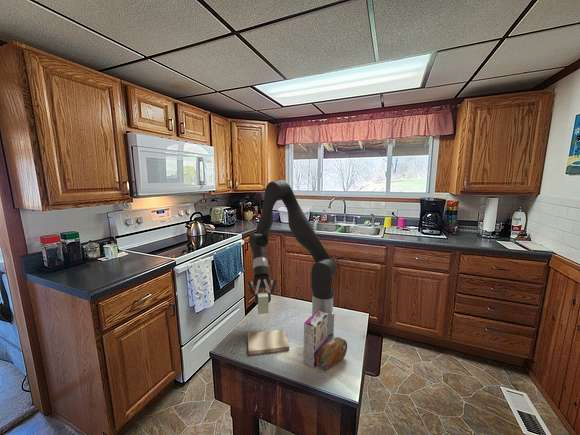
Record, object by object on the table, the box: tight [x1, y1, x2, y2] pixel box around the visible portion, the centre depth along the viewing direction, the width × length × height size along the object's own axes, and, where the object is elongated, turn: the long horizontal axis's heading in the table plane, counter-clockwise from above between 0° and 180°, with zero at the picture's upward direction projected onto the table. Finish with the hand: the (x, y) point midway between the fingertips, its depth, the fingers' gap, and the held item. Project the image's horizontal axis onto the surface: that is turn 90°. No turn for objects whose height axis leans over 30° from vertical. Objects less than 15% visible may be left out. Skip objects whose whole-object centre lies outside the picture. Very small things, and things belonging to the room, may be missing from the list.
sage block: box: [257, 291, 269, 315], centre depth 112 cm, size 4×4×8 cm
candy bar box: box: [303, 310, 329, 369], centre depth 93 cm, size 11×5×16 cm, turn 147°
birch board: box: [247, 329, 290, 356], centre depth 102 cm, size 16×12×2 cm
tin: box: [316, 337, 348, 372], centre depth 91 cm, size 15×3×8 cm, turn 130°
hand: (263, 302), depth 111 cm, fingers closed on sage block, 4 cm apart
